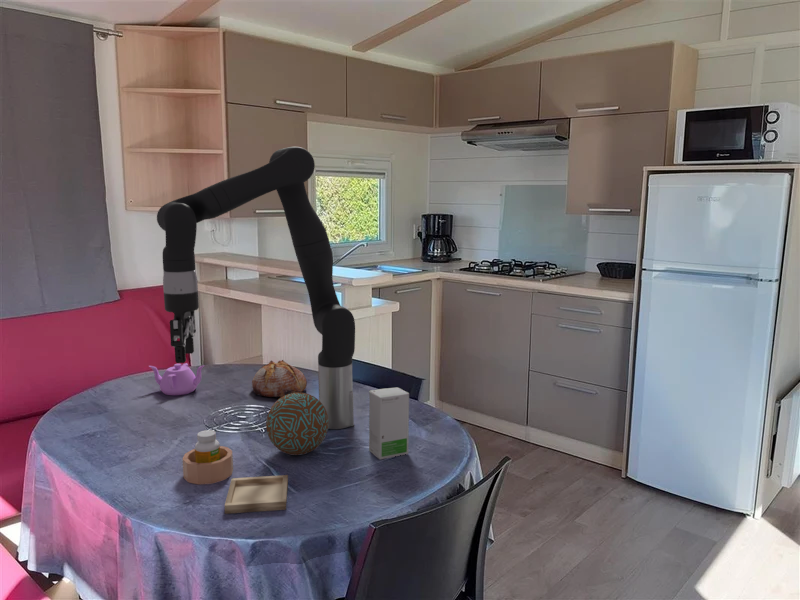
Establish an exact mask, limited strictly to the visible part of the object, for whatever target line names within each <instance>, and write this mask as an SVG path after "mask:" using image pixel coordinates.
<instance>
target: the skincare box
mask: <svg viewBox="0 0 800 600" xmlns="http://www.w3.org/2000/svg"><path fill="white" fill-rule="evenodd" d="M368 395H369V396H368V397H369V398H368V399H369V400H368V401H369V404H368V405H369V407H368V408H369V409H368V410H369V411H368V422H369V423H368V424H369V425H368V429H369V430H368V449H369V450H368V451H369V452H370V453H371V454H372V455H374V457H375V458H377V459H378V460H385V459H390V458H394V457H395V456H396V457H398V456H399V457H401V456H405V454H406V455H409V439H410V438H409V432H410V430H409V426H410V424H409V423H410V422H409V421H410V420H409V419H410V393H409V392H408V391H405V390H403V389H402V388H400V387H388V388H379V389H371V390H369V391H368ZM400 455H401V456H400Z"/></svg>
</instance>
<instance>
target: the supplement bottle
mask: <svg viewBox="0 0 800 600" xmlns="http://www.w3.org/2000/svg"><path fill="white" fill-rule="evenodd" d="M196 435H197V437H196V438H197V442H196V443H195V445H194V449H195V459H196V463H211V462H214V461H218V460H220V446H221V445H220V442H219V440H217V433H216V430H213V429H209V430H208V429H206V430H201V431H199V432H197V434H196Z"/></svg>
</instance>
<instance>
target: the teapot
mask: <svg viewBox="0 0 800 600" xmlns="http://www.w3.org/2000/svg"><path fill="white" fill-rule="evenodd" d="M148 367H149V368H151V370H152V371H153V375H154V380H155V383H157V385H159V390H160V391H161V392H162V393H163V394H165V395H166V396H184V395H188V394H190V393H193V392H194V391H195V390H196V389H197V387H198V385H199V384H200V383H201V381H202V369H203V368H204V367H205V365H199V366H198V368H197V369H196V375H195V373H194V371H193V370H192V369H191V368H190V367H189V364H188V362H185V363H175V364H173V366H171V367H168V368H167V369H166V370H165V371H164V372H163V375H162V376H161V375H160V373H159V370H158V368H157V366H154V365H148Z"/></svg>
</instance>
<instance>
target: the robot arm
mask: <svg viewBox="0 0 800 600" xmlns="http://www.w3.org/2000/svg"><path fill="white" fill-rule="evenodd" d="M315 164H316V163H315V160H314V157H313V155H312V154H311V153H310V152H309V151H308V150H307V149H306V148H304V147H300V146H289V147H284V148H280V149H277V150H275V151H274V152H273V153H272V155H271V156H270V159H269V162H267V163H266V164H264V165H262V166H260V167H258V168H255V169H252V170H250V171H247V172H244V173H241V174H238V175H236V176H231V177H230V178H229V177H228V178H227V179H226V178H225V179H224V180H221V181H218V182H217V183H214V184H211V185H210V186H207V187H205V188H203V189H201V190H200V191H197V192H195V193H192V194H189V195H186V196H183V197H180V198H177V199H174V200H171V201H169V202H167V203H164V205H163V204H162V206H161V207H159V209H158V211H157V213H156V222H157V224H158V226H159V227H160V228H161V230H163V231H164V232H165V246H164V247H163V250H162V269H163V277H162V284H163V285H162V287H163V300H164V310H165V312H168V313H173V319H170V320H169V329H170V330H169V331H170V332H169V333H170V346H171V347H173V348H174V359H175V364H185V363H187V362H186V361H187V356H186V355H188V354H189V355H190V354H194V352H195V345H194V337H195V334H196V332H197V331H196V330H197V329H196V319H195V318H196V316H195V311H197V310H198V309H199V308H200V304H199V303H200V302H199V301H200V300H199V285H198V276H197V270H196V256H195V247H196V239H197V230H198V229H197V228H198V227H197V225H198V224H197V223H200V222H202V221H204V220H213V219H215V218H217V217H220V216H222V215H224V214H226V213H229V212H231V211H233V210H235V209H237V208H239V207H241V206H243V205H245V204H247V203H249V202H251V201H253V200H255V199H257V198H260V197H261V196H264V195H266V194H269V193H271V192H274V191H276V192H277V194H278V197H279V200H280V202H281V205H282V209H283V211H284V214H285V218H286V219H285V220H286V224H287V227H288V230H289V233H290V238H291V240H292V241H291V242H292V246H293V249H294V252H295V255H296V259H297V262H298V265H299V269H300V271H301V275H302V278H303V281H304V284H305V286H306V290H307V293H308V298H309V305H310V308H311V315H312V320H313V324H314V328H315V329H316V330H317V332H318V333H319V334H320V335H321V342H322V343H321V351H320V352H319V353H318V355H317V369H318V370H317V371H318V374H317V376H318V400H319V401H320V402H321V403H322V404H323V406H324V407H325V409H326V412H327V415H328V420H329V424H328V430H329V429H330V430H340V429H341V430H342V429H345V428H346V429H347V428H349V427H354V426H355V425H354V424H355V423H354V391H353V390H354V389H353V357H354V354H355V351H356V350H355V348H356V347H355V346H356V343H355V342H356V323H355V317H354V314H353V313H352V312H351V311H350V310H349V309H348V308H346V307H344V306H341V303H340V301H339V299H338V295H337V293H336V289H335V286H334V279H333V270H334V269H333V268H334V267H333V266H334V265H333V264H334V263H333V262H334V260H333V259H334V258H333V257H334V256H333V251H332V248H331V247H332V246H331V243H330V239H329V236H328V232H327V230H326V227H325V225H324V224H323V222H322V220H321V218H320V217H319V215H318V214H317V212H316V210H315V209H314V208H313V206H312V204H311V202H310V200H309V197H308V194H307V191H306V190H307V189H306V186H305V183H306V182H307V181H308V180H310V179H311V177H312V176H313V174H314V171H315V167H316V165H315ZM178 339H179V340H178Z"/></svg>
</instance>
